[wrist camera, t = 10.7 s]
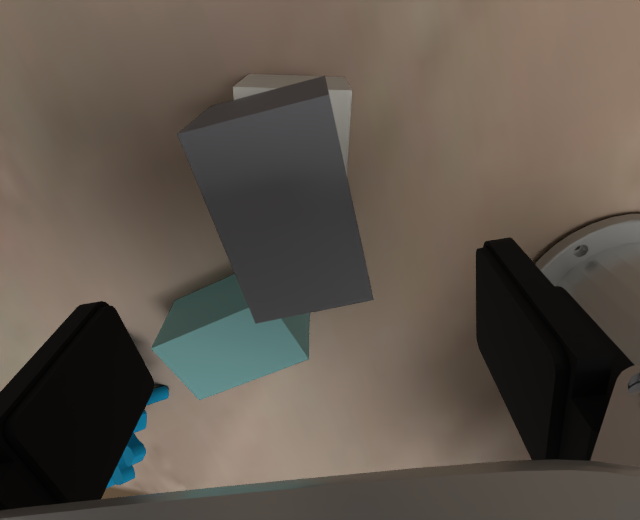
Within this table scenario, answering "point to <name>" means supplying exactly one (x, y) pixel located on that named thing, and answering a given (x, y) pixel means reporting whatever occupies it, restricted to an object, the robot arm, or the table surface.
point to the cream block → (336, 85)
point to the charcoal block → (281, 199)
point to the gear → (135, 445)
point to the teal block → (226, 340)
